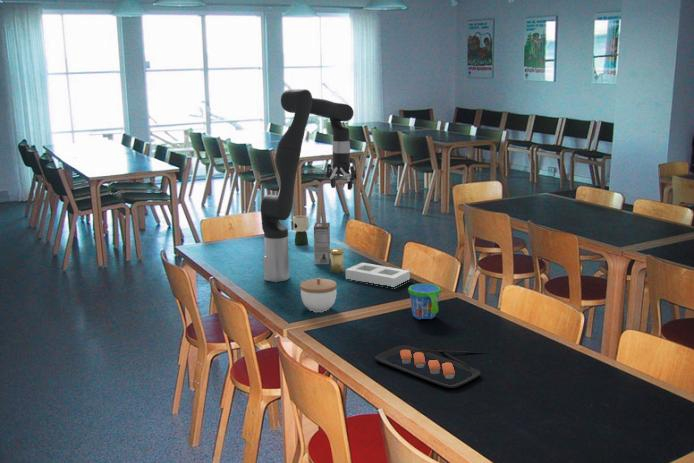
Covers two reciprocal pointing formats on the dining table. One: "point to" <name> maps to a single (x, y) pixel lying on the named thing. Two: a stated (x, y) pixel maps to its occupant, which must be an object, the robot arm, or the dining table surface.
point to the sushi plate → (433, 364)
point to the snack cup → (424, 300)
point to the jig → (377, 274)
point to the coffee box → (322, 243)
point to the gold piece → (336, 260)
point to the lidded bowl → (318, 294)
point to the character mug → (300, 229)
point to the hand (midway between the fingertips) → (341, 188)
